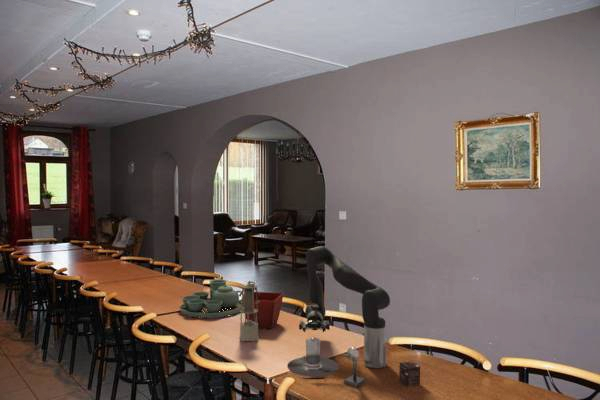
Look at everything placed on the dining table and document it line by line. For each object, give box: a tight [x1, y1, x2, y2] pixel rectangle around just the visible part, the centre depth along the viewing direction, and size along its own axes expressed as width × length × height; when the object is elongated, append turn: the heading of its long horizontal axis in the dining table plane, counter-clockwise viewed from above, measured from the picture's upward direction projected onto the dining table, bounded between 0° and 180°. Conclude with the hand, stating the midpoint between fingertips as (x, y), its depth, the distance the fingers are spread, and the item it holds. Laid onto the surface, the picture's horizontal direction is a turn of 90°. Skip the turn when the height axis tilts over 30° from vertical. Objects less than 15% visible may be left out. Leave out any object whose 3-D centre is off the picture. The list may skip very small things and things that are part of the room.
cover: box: [305, 336, 321, 368], centre depth 196 cm, size 6×6×12 cm
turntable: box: [287, 356, 340, 380], centre depth 196 cm, size 22×22×1 cm
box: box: [398, 360, 421, 387], centre depth 183 cm, size 6×6×7 cm
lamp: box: [238, 280, 260, 342], centre depth 234 cm, size 10×13×30 cm
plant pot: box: [243, 291, 284, 330], centre depth 259 cm, size 19×19×17 cm
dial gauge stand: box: [341, 346, 366, 388], centre depth 183 cm, size 9×6×14 cm, turn 50°
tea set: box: [179, 278, 244, 319], centre depth 291 cm, size 40×40×16 cm
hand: (314, 329), depth 207 cm, fingers open, 8 cm apart
